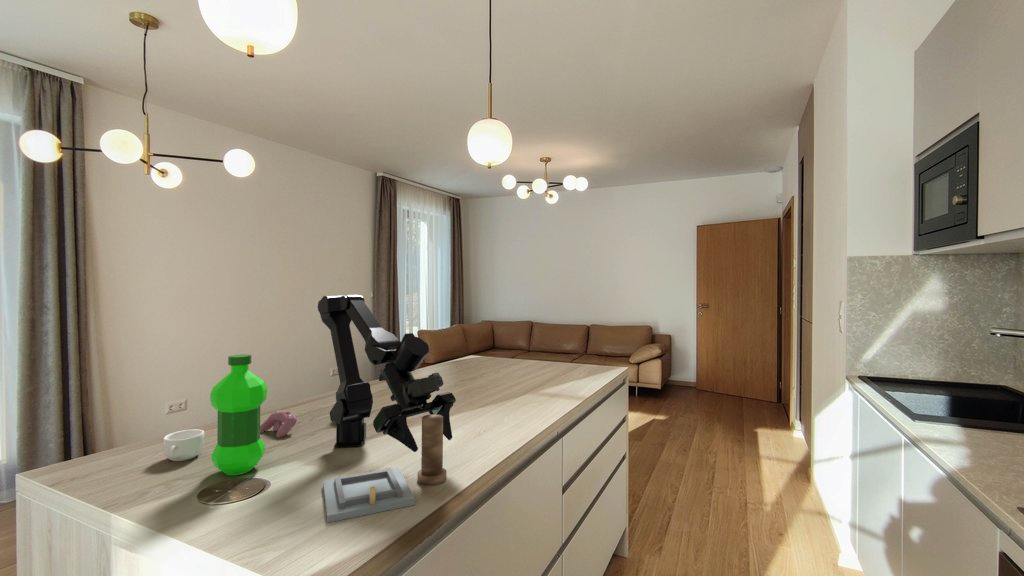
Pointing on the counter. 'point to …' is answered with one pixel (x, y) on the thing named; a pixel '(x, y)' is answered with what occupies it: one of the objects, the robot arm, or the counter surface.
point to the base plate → (366, 494)
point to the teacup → (183, 444)
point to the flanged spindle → (432, 451)
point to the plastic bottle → (238, 418)
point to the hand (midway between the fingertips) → (434, 444)
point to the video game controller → (279, 422)
